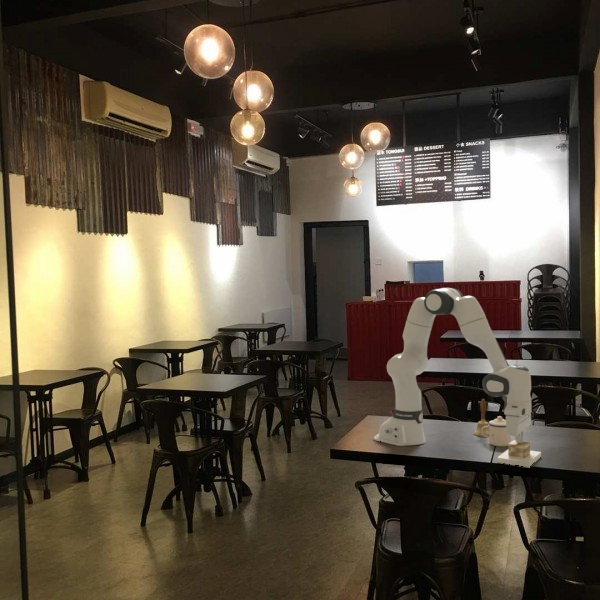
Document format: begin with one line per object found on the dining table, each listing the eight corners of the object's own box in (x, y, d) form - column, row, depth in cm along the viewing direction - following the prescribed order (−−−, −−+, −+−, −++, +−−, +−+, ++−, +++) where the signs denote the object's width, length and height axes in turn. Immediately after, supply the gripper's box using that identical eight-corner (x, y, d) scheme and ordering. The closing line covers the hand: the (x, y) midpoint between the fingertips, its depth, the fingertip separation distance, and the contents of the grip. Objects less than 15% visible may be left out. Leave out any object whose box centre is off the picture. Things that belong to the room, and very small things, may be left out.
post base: (497, 462, 239) (497, 449, 239) (510, 452, 252) (510, 440, 252) (529, 467, 232) (529, 454, 232) (541, 457, 245) (541, 444, 245)
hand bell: (492, 432, 284) (491, 397, 284) (493, 437, 276) (492, 401, 276) (473, 431, 286) (472, 397, 286) (473, 436, 278) (473, 400, 278)
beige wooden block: (508, 455, 242) (508, 443, 241) (513, 451, 247) (513, 440, 247) (525, 458, 238) (525, 446, 238) (530, 453, 243) (530, 442, 243)
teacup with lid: (511, 441, 268) (511, 414, 267) (510, 447, 259) (510, 419, 259) (482, 439, 272) (482, 413, 272) (480, 445, 264) (480, 417, 263)
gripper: (518, 401, 252) (519, 435, 252) (502, 411, 235) (503, 447, 236) (535, 402, 248) (535, 437, 249) (519, 412, 231) (519, 449, 232)
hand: (519, 442), depth 242 cm, fingers closed
